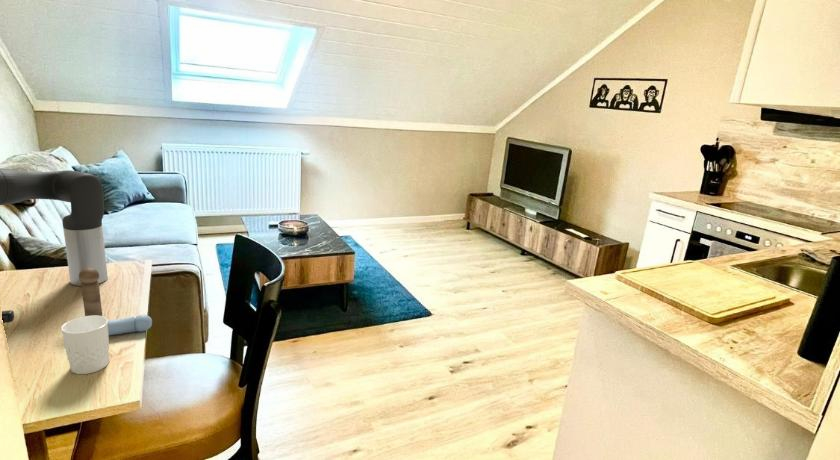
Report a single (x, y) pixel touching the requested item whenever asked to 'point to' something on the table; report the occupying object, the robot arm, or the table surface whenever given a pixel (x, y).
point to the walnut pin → (90, 291)
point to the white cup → (86, 343)
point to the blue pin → (129, 325)
